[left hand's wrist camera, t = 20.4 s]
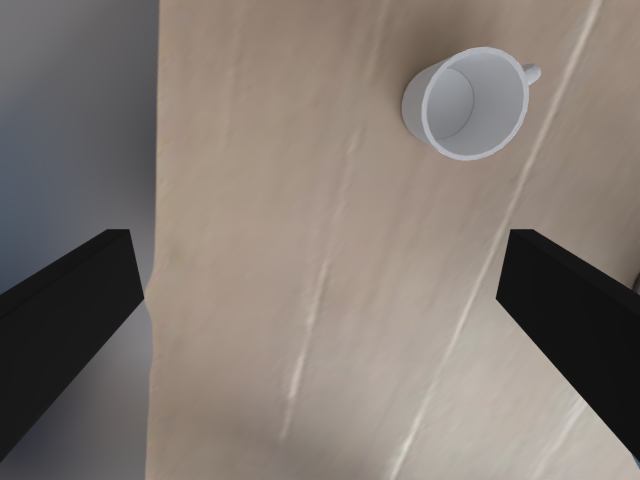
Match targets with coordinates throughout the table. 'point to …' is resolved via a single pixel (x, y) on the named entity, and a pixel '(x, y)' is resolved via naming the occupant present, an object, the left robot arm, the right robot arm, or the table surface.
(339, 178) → the table surface
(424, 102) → the mug
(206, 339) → the table surface
